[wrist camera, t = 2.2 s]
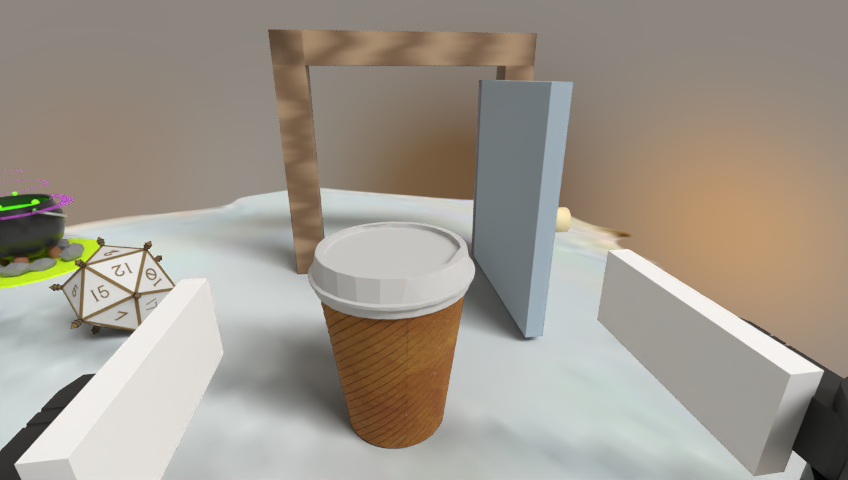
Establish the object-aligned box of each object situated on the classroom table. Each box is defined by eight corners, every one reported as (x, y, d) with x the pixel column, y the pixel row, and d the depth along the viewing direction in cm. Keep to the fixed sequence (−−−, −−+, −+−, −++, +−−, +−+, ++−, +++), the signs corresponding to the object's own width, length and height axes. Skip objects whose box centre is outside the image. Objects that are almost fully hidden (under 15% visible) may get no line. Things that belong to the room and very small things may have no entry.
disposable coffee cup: (378, 505, 22) (366, 305, 18) (299, 404, 29) (277, 241, 24) (498, 417, 28) (511, 249, 23) (409, 350, 34) (406, 210, 30)
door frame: (297, 273, 48) (268, 29, 39) (301, 263, 51) (274, 32, 41) (516, 260, 51) (536, 33, 42) (508, 251, 54) (525, 35, 45)
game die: (126, 357, 40) (84, 263, 40) (213, 314, 41) (170, 224, 42) (54, 374, 31) (1, 253, 31) (168, 318, 32) (115, 204, 33)
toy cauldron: (134, 248, 55) (112, 165, 51) (-4, 301, 42) (-49, 195, 38) (56, 235, 60) (30, 158, 56) (-91, 280, 47) (-139, 183, 43)
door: (470, 251, 52) (477, 80, 45) (497, 249, 53) (509, 79, 46) (524, 337, 35) (551, 82, 28) (564, 334, 36) (600, 82, 28)
